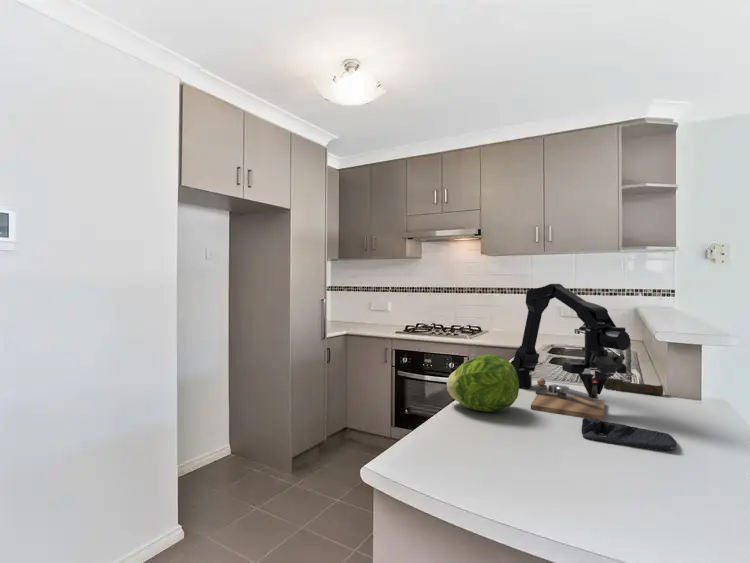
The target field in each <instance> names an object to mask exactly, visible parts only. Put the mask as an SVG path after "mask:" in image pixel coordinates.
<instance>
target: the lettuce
mask: <svg viewBox="0 0 750 563" xmlns="http://www.w3.org/2000/svg"><path fill="white" fill-rule="evenodd" d="M446 390H447V393H448V394H449V395H450V396H451V398H452V399H453V400H455V401H456V402H457V403H459V404H460V405H461V406H464V407H465V408H468V409H470V410H473V411H476V412H477V411H478V412H484V413H497V412H500V411H502V410H504V409H507V408H508V407H511V406H512V405H513V404H514V403H515V401H516V400H517V399H518V396H519V391H520V388H519V380H518V376H517V373H516V370H515V368H514V366H513V365H512V364H511V361H509V360H508V359H506V358H505V357H504V356H501V355H499V354H493V353H490V354H489V353H487V354H484V355H479V356H475V357H473V358H471V359H468V360H467V361H465V362H463V363H461V365H459V366H458V367H457V368H456V369H455V370H454V371H452V372H451V373H450V375H449V376H448V378H447V379H446Z"/></svg>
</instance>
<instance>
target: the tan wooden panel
mask: <svg viewBox="0 0 750 563" xmlns="http://www.w3.org/2000/svg"><path fill="white" fill-rule="evenodd" d="M547 389H548V387H547V384H546V379H545V378H543V377H538V379H537V380H536V385H535V397H534V399H533V400H532V402H531V403H530V410H534V411H539V412H546V413H553V414H558V415H564V416H565V415H566V416H570V417H571V416H573V417H576V418H578V417H579V418H582V419H583V418H591V419H596V420H601V421H604V418H605V405H606V404H605V403H606V399H599V401H595V402H592V401H588V400H585V399H582V398H579V397H575V396H572V395H569V394H566V393H558V392H557V393H552V392H548V390H547Z"/></svg>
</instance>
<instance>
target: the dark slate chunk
mask: <svg viewBox="0 0 750 563" xmlns="http://www.w3.org/2000/svg"><path fill="white" fill-rule="evenodd" d="M581 421H582V424H581V434H582V438H584V439H586V440H590V441H592V439H593V441H597V440H598V441H597V442H601V441H603V442H602V443H606V442H607V444H613V443H614V444H613V445H619V444H620V445H619V446H621V445H622V446H624V445H625V446H629V445H630V446H629V447H634V446H638V447H637V448H639V447H640V448H642V447H643V448H642V449H648V448H649V449H648V450H655V449H657V450H656V451H672V450H674V449H675V448H676V447H677V444H678V442H677V440H676V439H675V438H674V437H673V436H672V435H671V434H669V433H668V432H667V433H666V432H661V431H657V430H650V429H647V428H641V427H638V426H637V427H636V426H631V425H627V424H621V423H616V422H610V421H602V420H596V419H591V418H583V417H582V420H581ZM601 433H602V434H601ZM600 434H601V435H600ZM604 434H605V435H604ZM602 435H604V436H602ZM623 444H624V445H623Z"/></svg>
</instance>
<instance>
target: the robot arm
mask: <svg viewBox="0 0 750 563" xmlns="http://www.w3.org/2000/svg"><path fill="white" fill-rule="evenodd" d="M552 299H556V300H558V301H560V303H563V304H564V305H565V306H567V307H568V308H570V309H571V310H572V311H574V312H575V313H576V315H577V318H578V319H580V320H581V321H582V323H583V324H582V325H581V326H580V327H579V328H578V330H579V331H584V347H581V351H583V352H584V358H583V359H582V360H581V363H580V362H576V361H564V362H563V363H562V366H561V368H562V371H564V372H566V373H570V374H572V375H577V374H578V376H579V378H580V379H581V382H582V384H583V387H584V388H585V391H586V394H589V395H591V390H592V378H596V379H597V381H598V395H601V393H602V391H603V388H604V384H605V382H606V380H607V379H608V378H611V377H613V376H615V374H616V373H617V374H627V373H628V367H627V365H626V364H625V363H623V357H620V356H613V357H612V356H609V352H608V349H611V350H612V349H613V350H617V351H618V350H619V351H626V350H628V349H629V348H630V345H631V337H630V335H629V333H628V332H627V331H626V327H617V325H616V324H615V322H614V321H613V319H612V318H611V316H610V314H609V313H608V312H609V311H608V309H607V308H606V307H604V306H603V305H599V304H596V303H593V302H589V301H587V300H585V299H583V298H582V297H580V296H578V295H577V294H575V293H574V292H572V291H571V290H569V289H568V288H566V287H564V285H562V284H560V283H549V284H547V285H544V286H541V287H537V288H536V287H535V288H529V289H528V290H527V291H526V294H525V304H526V309H527V315H526V321H525V325H524V332H523V336H522V341H521V345H520V346H519V347H518V349H517V350H516V352H515V354H514V356H513V359H512V360H511V361H510V363H511V364H512V365H513V366H514V368H515V370H516V373H517V376H518V380H519V389H527V390H528V389H530V388H531V387H532V385H533V375H532V374H531V372H535V369H536V367H537V365H538V364H539V358H540V353H537V350H536V344H537V339H538V335H539V330H540V325H541V319H542V316H543V313H544V312H545V310H546V309H547V308H548V307H549V303H550V301H551V300H552ZM592 371H594V374H592Z"/></svg>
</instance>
